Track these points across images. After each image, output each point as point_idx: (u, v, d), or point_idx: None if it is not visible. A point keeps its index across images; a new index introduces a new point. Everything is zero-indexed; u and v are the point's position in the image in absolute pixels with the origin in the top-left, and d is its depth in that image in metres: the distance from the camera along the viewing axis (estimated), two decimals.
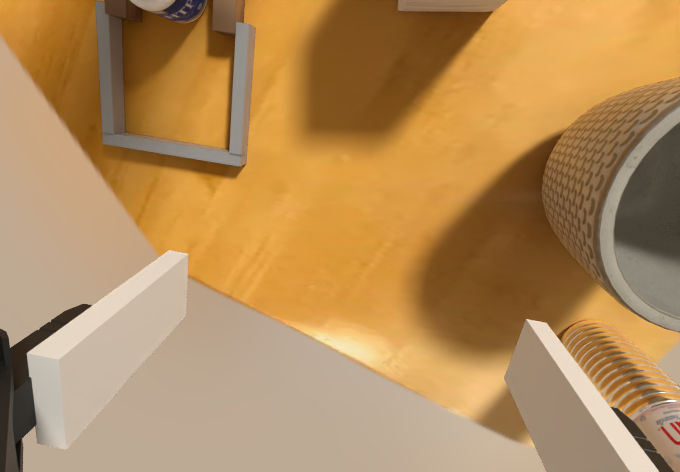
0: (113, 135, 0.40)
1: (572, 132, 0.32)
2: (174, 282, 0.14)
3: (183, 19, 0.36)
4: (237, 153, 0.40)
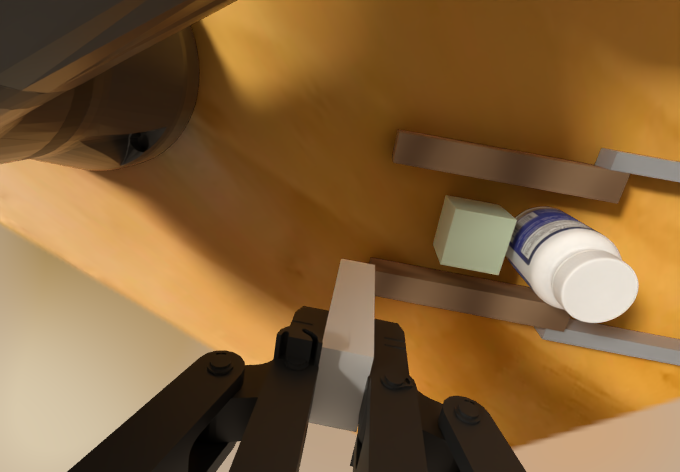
0: None
1: None
2: None
3: None
4: None
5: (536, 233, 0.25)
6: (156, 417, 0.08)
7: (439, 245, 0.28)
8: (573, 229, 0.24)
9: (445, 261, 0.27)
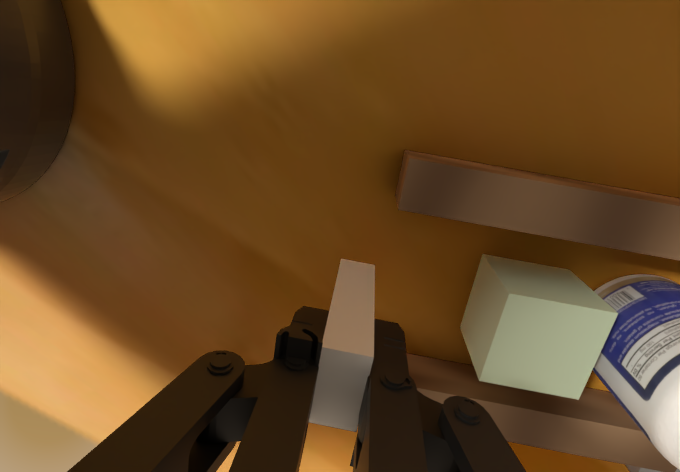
0: None
1: None
2: None
3: None
4: None
5: (654, 338, 0.14)
6: (156, 417, 0.08)
7: (474, 340, 0.17)
8: None
9: (487, 376, 0.16)
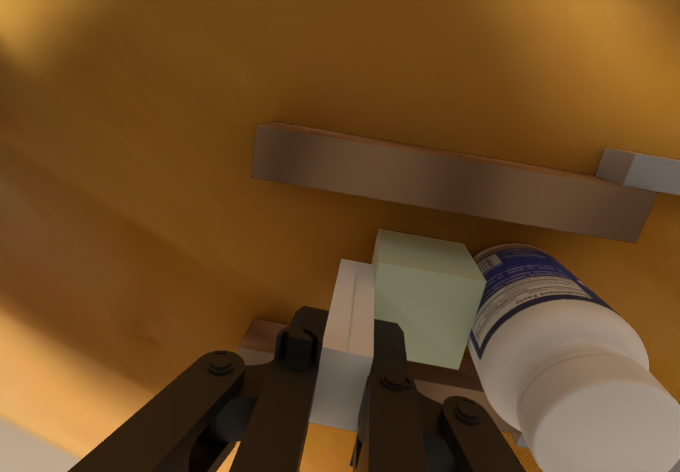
0: None
1: None
2: None
3: None
4: None
5: (494, 300, 0.15)
6: (156, 417, 0.08)
7: None
8: (558, 300, 0.13)
9: None
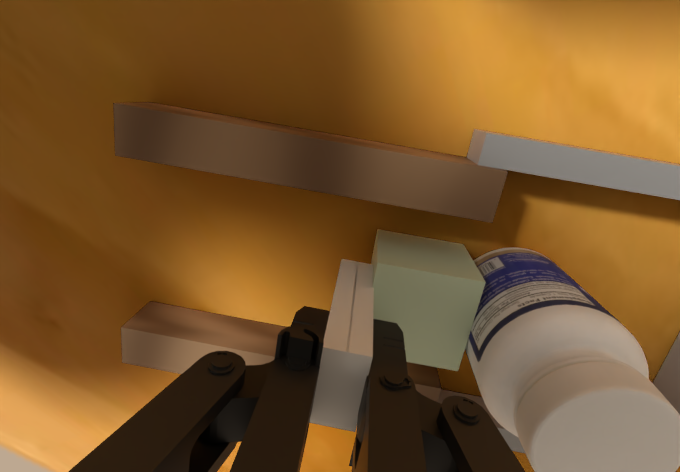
0: None
1: None
2: None
3: None
4: None
5: (495, 302, 0.14)
6: (157, 417, 0.08)
7: None
8: (561, 305, 0.13)
9: None
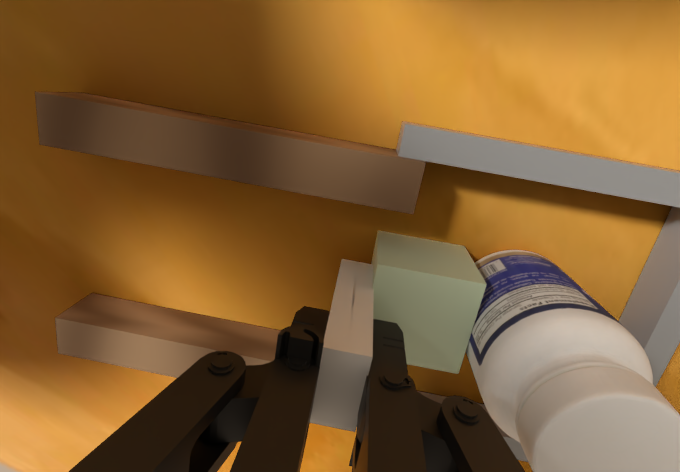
0: None
1: None
2: None
3: None
4: None
5: (498, 306, 0.14)
6: (157, 417, 0.08)
7: None
8: (564, 309, 0.13)
9: None
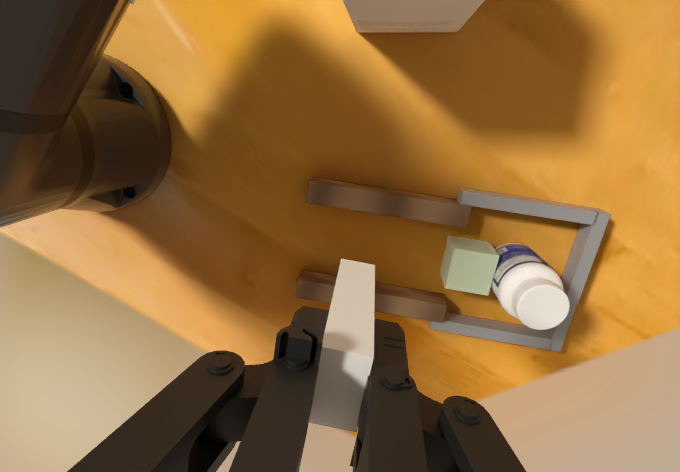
0: (553, 339, 0.39)
1: None
2: None
3: None
4: (594, 215, 0.35)
5: (504, 264, 0.35)
6: (156, 417, 0.08)
7: (444, 273, 0.38)
8: (529, 262, 0.33)
9: (448, 286, 0.37)
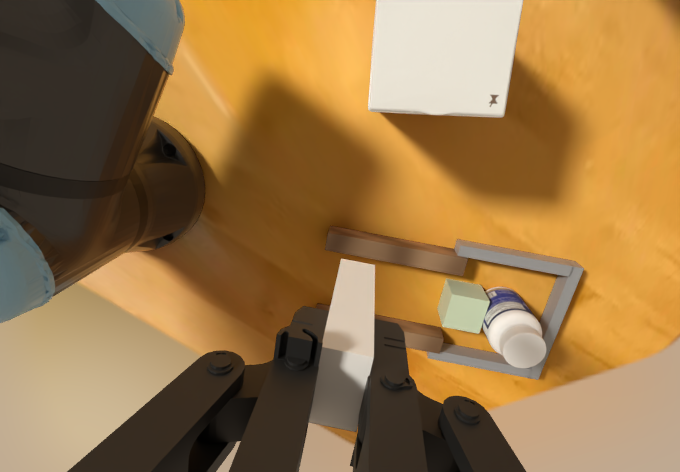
0: (532, 369, 0.46)
1: None
2: None
3: None
4: (570, 269, 0.42)
5: (493, 309, 0.41)
6: (156, 417, 0.08)
7: (441, 312, 0.44)
8: (514, 310, 0.40)
9: (445, 324, 0.43)
